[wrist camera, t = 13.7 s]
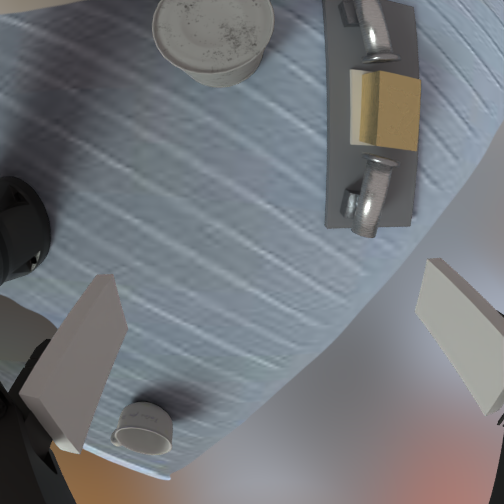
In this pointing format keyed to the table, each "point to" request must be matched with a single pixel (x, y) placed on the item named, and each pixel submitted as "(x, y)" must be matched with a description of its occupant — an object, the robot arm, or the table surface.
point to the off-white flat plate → (356, 105)
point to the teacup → (144, 429)
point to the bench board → (338, 114)
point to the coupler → (390, 110)
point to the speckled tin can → (214, 37)
